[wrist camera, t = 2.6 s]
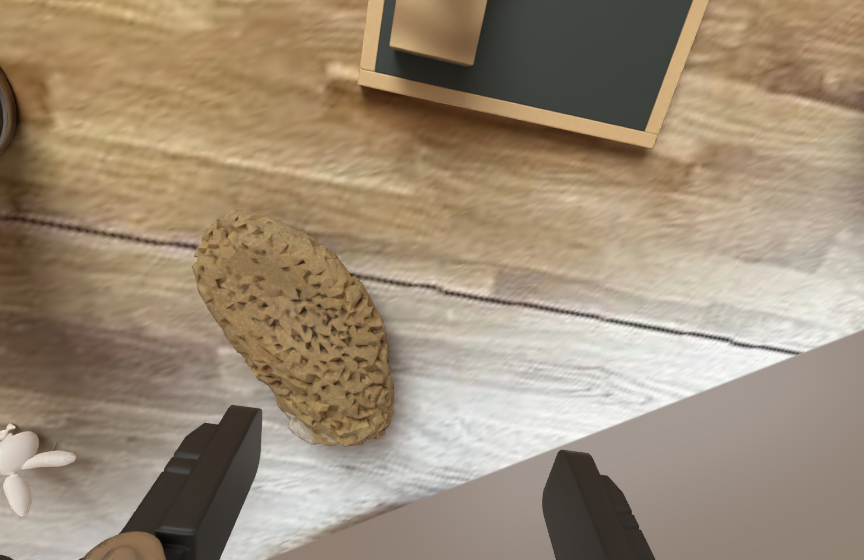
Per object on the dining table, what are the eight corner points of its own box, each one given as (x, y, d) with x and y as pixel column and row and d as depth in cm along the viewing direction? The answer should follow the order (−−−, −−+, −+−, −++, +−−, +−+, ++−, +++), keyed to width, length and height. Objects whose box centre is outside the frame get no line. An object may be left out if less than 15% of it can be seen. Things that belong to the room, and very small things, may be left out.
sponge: (410, 386, 43) (372, 191, 31) (391, 461, 36) (336, 251, 25) (281, 380, 45) (202, 196, 34) (243, 449, 39) (131, 253, 27)
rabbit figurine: (11, 404, 42) (64, 460, 40) (47, 408, 45) (97, 459, 43) (-45, 460, 40) (7, 521, 38) (-3, 459, 44) (46, 515, 42)
